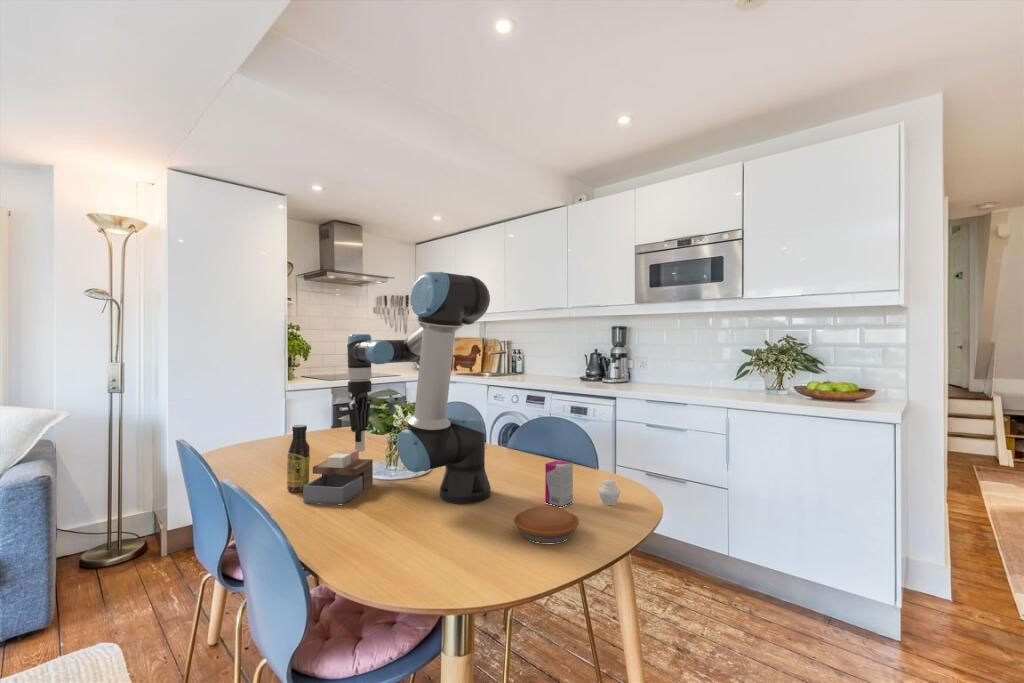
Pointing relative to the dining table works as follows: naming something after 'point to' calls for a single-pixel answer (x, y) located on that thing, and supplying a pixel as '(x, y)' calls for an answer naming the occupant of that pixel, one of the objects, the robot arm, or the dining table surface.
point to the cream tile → (338, 460)
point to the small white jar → (609, 492)
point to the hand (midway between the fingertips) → (360, 450)
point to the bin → (332, 489)
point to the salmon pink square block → (353, 454)
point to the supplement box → (559, 483)
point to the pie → (546, 524)
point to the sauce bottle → (298, 460)
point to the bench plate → (350, 470)
